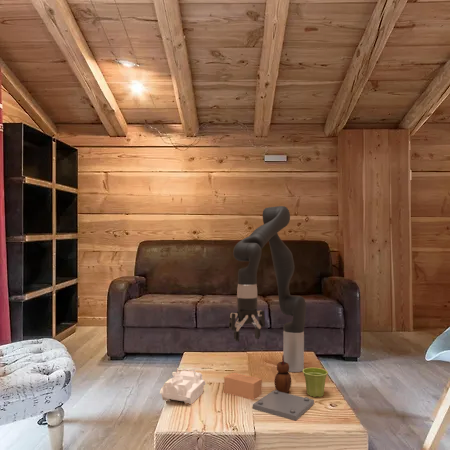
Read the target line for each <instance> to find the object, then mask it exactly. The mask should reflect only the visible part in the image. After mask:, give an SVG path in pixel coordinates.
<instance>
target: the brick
mask: <svg viewBox="0 0 450 450" xmlns="http://www.w3.org/2000/svg"><path fill="white" fill-rule="evenodd" d="M223 379H224V380H223V382H224V383H223V384H224V386H223V392H224V393H225V394H228V395H233V396H237V397H240V398H243V399H249V400H252V401H255V400H256V399H257V398H258V397H260V396H261V395H263V394H262V393H263V392H262V390H263V389H262V388H263V385H262V383H263V378H259V377H255V376H252V375H251V376H250V375H245V374H241V373H236V372H231V373H230V374H228V375H225V376H224V377H223Z"/></svg>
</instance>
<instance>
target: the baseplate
mask: <svg viewBox="0 0 450 450" xmlns="http://www.w3.org/2000/svg"><path fill="white" fill-rule="evenodd" d="M313 404H315V399H312V398H309V397H308V396H307V397H306V396H304V397H303V396H300V395H296V394H295V395H294V394H292V393H291V394H290V393H289V392H288V393H283V392H279V391H278V390H276V389H274V390H272V391H271V392H269V393H267V394H265V395H264V396H262V397H261V398H259V399H258V400H257V401H255V402H254V403H252V410H256V411H260V412H264V413H267V414H271V415H273V416H278V417H280V418H285V419H289V420H293V421H297V420H298V419H299V418H300V417H301V416H303V415H304V414H305V413H306V412H307V411H308V410H309V409H310V408H311V407H313V406H314V405H313Z"/></svg>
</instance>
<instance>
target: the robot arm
mask: <svg viewBox="0 0 450 450" xmlns="http://www.w3.org/2000/svg"><path fill="white" fill-rule="evenodd" d="M290 220H291V213H290V209H288V207H287V206H284V205H279V206H271V207H270V206H269V207H265V208H264V209H263V211H262V222H263V224H262V225H260V226H258V227H257V228H255V229H254V230H253V231H252V232H251V234H250V235H249V236H247V237H245V238H243V239H241V240H240V241H238V242H237V243H236V244H235V245H234V248H233V252H232V255H233V258H234V259H235V260H236V261H239V262H248V264H247V266H246V267H241V268H239V269H238V270H237V288H236V291H237V293H236V304H237V305H236V309H237V311H236V312H229V317H228V319H229V320H228V329H229V330H231V331H233V339H234V340H235V342H236V343H237V342H240V329H241V327H243V326H244V325H248V324H252V325H253V326H254V339H255V340H258V339H260V338H261V329H262V328H264V327H265V326H266V319H265V317H266V316H265V311H264V310H262V309H259V310H258V287H257V286H258V284H257V282H258V281H257V279H258V277H257V275H258V274H257V273H258V269H259V266H260V265H259V264H260V261H261V258H262V253H263V252H262V249H263V248H264V247H265V246H266V245H267V243H269V248H270V254H271V260H272V264H273V265H272V266H273V269H274V270H273V271H274V273H275V278H276V285H277V293H278V305H279V309H280V312H281V313H282V314H283V315H285V316H291V317H292V320H291V321H289V322H285V323H284V324H283V334H282V335H283V338H282V339H283V343H282V344H283V353H282V356H284V362H286V363H288V364H289V371H288V372H289V373H299V372H300V373H302V372H303V369H305V364H304V363H305V326H306V315H307V314H306V313H307V303H306V299H305V298H304V297H303V296H301V295H294V294H291V292H290V281H291V279H292V277H293V275H294V272H295V261H294V257H293V253H292V251H291V250H290V248H289V247H288V246H287V245H286V243H284V241H283V240H282V238H280V235H279V232H280V231H282V230H283V229H284V228H286V227H287V226H288V225H289V224H290ZM257 317H258V318H257ZM236 319H237V320H236Z"/></svg>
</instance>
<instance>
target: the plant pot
mask: <svg viewBox="0 0 450 450" xmlns="http://www.w3.org/2000/svg"><path fill="white" fill-rule="evenodd" d="M302 373H303V376H304V379H305V386H306V387H305V388H306V393H307V395H308V396H309V395H310V396H309V397H312V396H313V398H315V397H316V398H317V397H319V398H322V397H323V396H324V393H325V386H326V385H325V384H326V378H327V376H328V374H329V373H328V371H327V370H326V369H324V368H319V367H306V368H305V367H304V369H303V371H302Z"/></svg>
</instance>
